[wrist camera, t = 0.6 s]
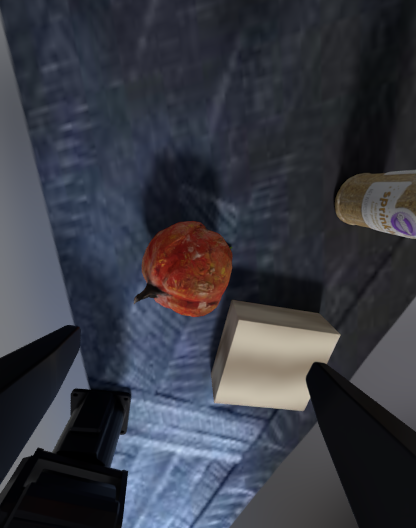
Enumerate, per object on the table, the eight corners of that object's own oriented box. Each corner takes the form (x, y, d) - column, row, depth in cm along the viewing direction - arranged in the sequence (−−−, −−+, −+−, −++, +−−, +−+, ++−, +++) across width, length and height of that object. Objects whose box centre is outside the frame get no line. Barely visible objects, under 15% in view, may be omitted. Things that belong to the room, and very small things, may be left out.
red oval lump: (205, 204, 21) (100, 226, 15) (270, 217, 16) (151, 255, 11) (207, 271, 25) (121, 310, 19) (262, 299, 20) (168, 363, 14)
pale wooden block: (288, 379, 27) (303, 410, 24) (210, 371, 26) (214, 402, 22) (317, 311, 24) (340, 334, 21) (231, 298, 23) (238, 320, 19)
